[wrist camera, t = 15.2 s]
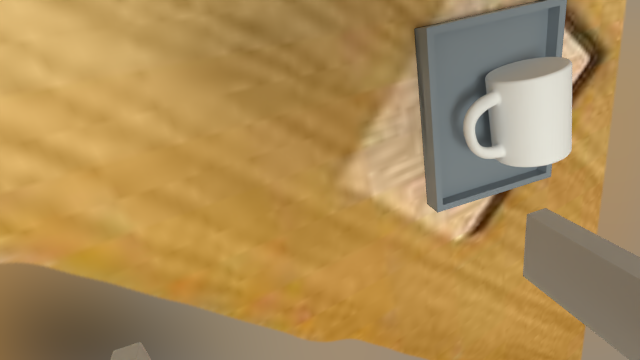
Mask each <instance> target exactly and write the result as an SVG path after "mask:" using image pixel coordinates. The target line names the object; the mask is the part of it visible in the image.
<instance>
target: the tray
mask: <svg viewBox="0 0 640 360" xmlns="http://www.w3.org/2000/svg"><path fill="white" fill-rule="evenodd" d="M566 3H567V0H540V1H535V2H531V3H526V4H522V5H518V6H513V7H509V8H504V9H500V10H495V11H491V12H486V13H482V14H478V15H473V16H469V17H464V18H460V19H455V20H451V21H447V22H442V23H438V24H433V25H429V26H424V27H420V28H416V29H414V30H415V43H416V57H417V70H418V84H419V97H420V111H421V124H422V138H423V151H424V165H425V178H426V192H427V204H428V205H429V206H430V207H432V208H433V209H434V210H435V211H437V212H440V211H443V210H447V209H450V208H453V207H456V206H459V205H462V204H466V203H469V202H472V201H475V200H478V199H481V198H485V197H488V196H491V195H494V194H497V193H500V192H504V191H507V190H510V189H513V188H516V187H519V186H523V185H526V184H529V183H532V182H535V181H538V180H542V179H545V178H548V177H551V169H552V164H549V165H544V166H538V167H514V166H509V165H505V164H503V163H500V162H499V161H497V160H496V159H484V158H481V157H478V156H477V155H475V154H474V153H473V152H472V151H471V150H470V148H469V147H468V145H467V143H466V140H465V137H464V132H463V123H464V118H465V115H466V113H467V111H468V109H469V108H470V107H471V105H472V104H473V103H474V102H475V101H477V100H478V99H479V98H481V97H482V96H484V95H486V94H487V93H486V83H485V77H486V75H487V74H488V73H489V72H491V71H493V70H494V69H496V68H499V67H501V66H504V65H507V64H510V63H513V62H517V61H522V60H527V59H533V58H540V57H562V47H563V36H564V25H565V14H566ZM475 134H476V138H477V141H478V143H479V144H480V145H481V146H483V147H492V142H491V132H490V122H489V113H488V110H486V111H485V112H484V113H483V114H482V115H481V116H480V117H479V118H478V120H477V122H476V125H475Z"/></svg>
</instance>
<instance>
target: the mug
mask: <svg viewBox="0 0 640 360" xmlns="http://www.w3.org/2000/svg"><path fill="white" fill-rule="evenodd" d="M485 83H486V93H487V94H486V95H484V96H482V97H481V98H479V99H478V100H477V101H475V102H474V103H473V104H472V105H471V107H470V108H469V109H468V111H467V113H466V115H465V118H464V123H463V132H464V137H465V140H466V143H467V145H468V147H469V148H470V150H471V151H472V152H473V153H474V154H475V155H477V156H478V157H481V158H484V159H496V160H497V161H499V162H500V163H503V164H505V165H509V166H514V167H538V166H544V165H549V164H552V163H555V162H558V161H560V160H562V159H564V158H565V157H566V156H568V155H569V153H570V152H571V149H572V62H571V61H570V60H569V59H567V58H563V57H540V58H533V59H527V60H522V61H517V62H513V63H510V64H507V65H504V66H501V67H499V68H496V69H494V70H493V71H491V72H489V73H488V74H487V75H486V77H485ZM486 110H488V113H489V122H490V132H491V142H492V147H483V146H481V145H480V144H479V143H478V141H477V138H476V134H475V125H476V122H477V120H478V118H479V117H480V116H481V115H482V114H483V113H484V112H485V111H486Z"/></svg>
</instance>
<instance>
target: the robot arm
mask: <svg viewBox="0 0 640 360" xmlns="http://www.w3.org/2000/svg"><path fill="white" fill-rule="evenodd" d="M523 276H524V277H525V278H526V279H528V280H529V281H530V282H531V283H533V284H534V285H535V286H536V287H538V288H539V289H540V290H542V291H543V292H544V293H545V294H547V295H548V296H549V297H550V298H552V299H553V300H554V301H555V302H557V303H558V304H559V305H561V306H562V307H563V308H564V309H566V310H567V311H568V312H569V313H571V314H572V315H573V316H574V317H576V318H577V319H578V320H579V321H581V322H582V323H583V324H585V325H586V326H587V327H589V328H590V329H591V330H592V331H593V332H595V333H596V334H597V335H598V336H600V337H601V338H603V339H604V340H605V341H606V342H607V343H609V344H610V345H611V346H612V347H614V348H615V349H617V350H618V351H619V352H620V353H621V354H623V355H624V356H625V357H626V358H628V359H629V360H640V257H638V256H636V255H634V254H633V253H631V252H629V251H627V250H625V249H623V248H621V247H619V246H617V245H615V244H613V243H611V242H610V241H608V240H606V239H604V238H602V237H600V236H598V235H596V234H594V233H592V232H590V231H588V230H587V229H585V228H583V227H581V226H579V225H577V224H575V223H573V222H571V221H569V220H567V219H565V218H564V217H562V216H560V215H558V214H556V213H554V212H552V211H550V210H548V209H546V208H545V209H542V210H539V211H536V212H533V213H530V214H527V222H526V237H525V253H524V268H523ZM111 360H151V359H150V357H149V355H148V354H147V352H146V350H145V348H144V347H143V345H142V343H141V342H139V343H136V344H133V345H130V346H127V347H124V348H121V349H117V350H114V351H113V354H112V357H111Z"/></svg>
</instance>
